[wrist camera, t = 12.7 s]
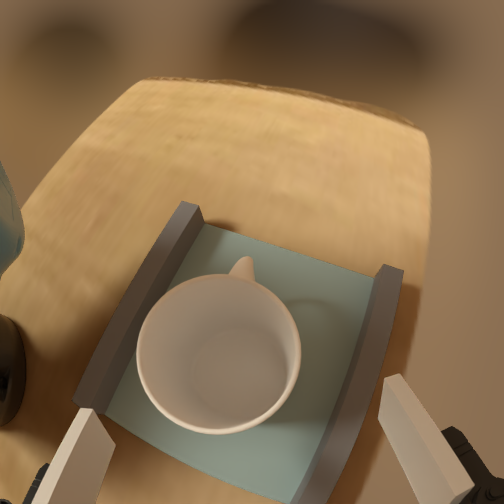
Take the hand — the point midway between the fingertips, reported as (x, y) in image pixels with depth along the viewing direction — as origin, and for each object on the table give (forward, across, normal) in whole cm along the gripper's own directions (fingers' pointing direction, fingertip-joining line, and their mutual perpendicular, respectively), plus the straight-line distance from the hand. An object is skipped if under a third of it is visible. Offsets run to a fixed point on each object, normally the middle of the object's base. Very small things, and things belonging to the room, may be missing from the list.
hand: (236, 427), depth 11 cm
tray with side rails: (+13, 0, -5) cm, 14 cm away
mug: (+13, 0, -5) cm, 13 cm away
